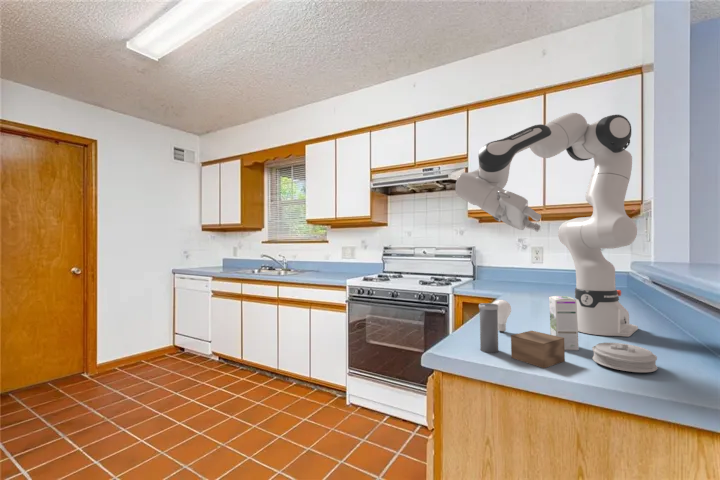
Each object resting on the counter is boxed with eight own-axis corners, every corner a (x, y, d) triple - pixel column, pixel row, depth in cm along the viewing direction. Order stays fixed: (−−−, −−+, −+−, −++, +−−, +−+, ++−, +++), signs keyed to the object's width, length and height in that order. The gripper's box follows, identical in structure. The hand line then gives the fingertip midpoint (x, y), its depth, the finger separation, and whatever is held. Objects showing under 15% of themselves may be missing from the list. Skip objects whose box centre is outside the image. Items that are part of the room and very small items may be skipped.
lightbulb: (506, 335, 113) (505, 302, 113) (488, 331, 118) (487, 299, 118) (515, 331, 118) (514, 299, 118) (497, 328, 122) (496, 297, 122)
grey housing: (487, 346, 102) (487, 302, 102) (503, 351, 97) (502, 305, 97) (475, 349, 99) (474, 304, 99) (490, 354, 95) (489, 307, 95)
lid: (580, 360, 89) (580, 341, 89) (619, 356, 92) (618, 337, 92) (628, 379, 77) (628, 356, 77) (671, 373, 80) (671, 351, 80)
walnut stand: (531, 351, 96) (531, 330, 96) (564, 361, 88) (564, 337, 88) (511, 357, 92) (511, 335, 92) (544, 368, 84) (543, 343, 84)
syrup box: (579, 350, 96) (578, 299, 96) (556, 349, 98) (555, 298, 98) (571, 344, 102) (570, 295, 102) (549, 344, 103) (548, 295, 103)
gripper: (502, 181, 102) (547, 202, 95) (506, 206, 119) (545, 226, 112) (489, 198, 102) (533, 220, 95) (495, 221, 120) (533, 242, 112)
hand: (539, 224), depth 104 cm, fingers open, 8 cm apart
